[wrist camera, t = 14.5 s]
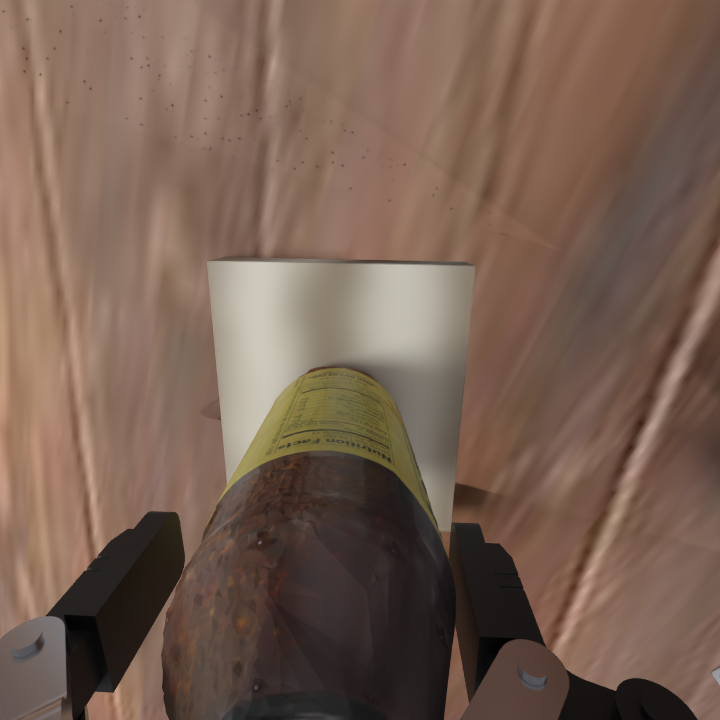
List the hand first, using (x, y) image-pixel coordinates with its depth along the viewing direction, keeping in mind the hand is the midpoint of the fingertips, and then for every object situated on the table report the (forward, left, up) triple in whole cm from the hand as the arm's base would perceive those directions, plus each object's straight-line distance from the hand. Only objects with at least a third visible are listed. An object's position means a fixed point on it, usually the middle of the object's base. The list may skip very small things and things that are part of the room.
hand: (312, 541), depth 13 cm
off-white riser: (0, 0, -12) cm, 12 cm away
